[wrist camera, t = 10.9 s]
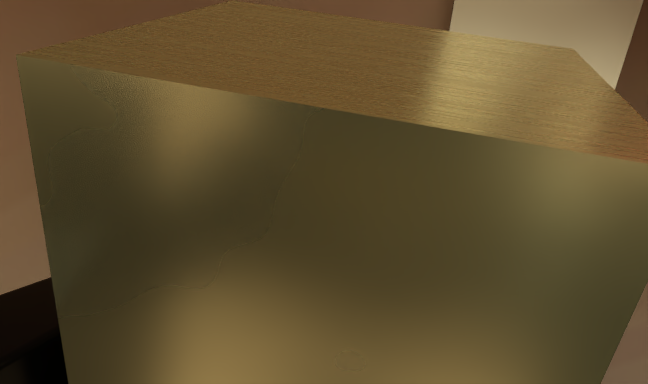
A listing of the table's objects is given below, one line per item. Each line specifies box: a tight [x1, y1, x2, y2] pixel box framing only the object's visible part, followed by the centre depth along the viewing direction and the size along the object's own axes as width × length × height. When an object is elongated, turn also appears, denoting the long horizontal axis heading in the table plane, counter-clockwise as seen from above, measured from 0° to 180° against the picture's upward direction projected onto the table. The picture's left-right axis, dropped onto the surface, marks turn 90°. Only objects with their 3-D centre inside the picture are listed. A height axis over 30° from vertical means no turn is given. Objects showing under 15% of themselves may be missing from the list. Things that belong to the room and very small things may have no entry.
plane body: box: [449, 0, 643, 90], centre depth 14 cm, size 16×5×6 cm, turn 176°
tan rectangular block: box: [16, 0, 648, 384], centre depth 7 cm, size 6×4×4 cm
